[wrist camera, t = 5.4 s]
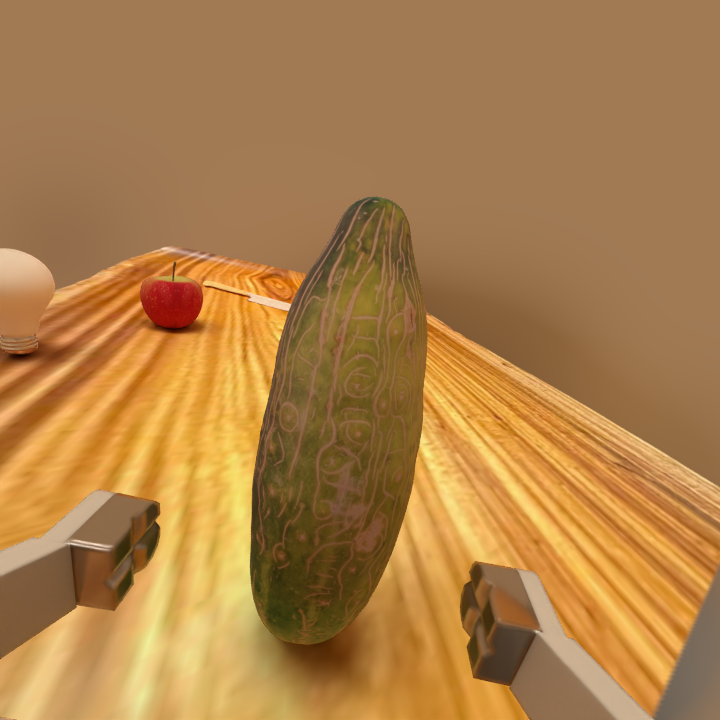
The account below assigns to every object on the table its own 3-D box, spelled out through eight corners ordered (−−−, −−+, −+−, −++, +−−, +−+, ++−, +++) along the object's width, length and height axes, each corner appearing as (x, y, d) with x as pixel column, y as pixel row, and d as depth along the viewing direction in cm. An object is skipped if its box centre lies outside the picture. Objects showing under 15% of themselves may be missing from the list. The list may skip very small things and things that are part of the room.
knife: (323, 319, 75) (334, 313, 79) (194, 281, 84) (210, 278, 89) (323, 325, 75) (333, 319, 80) (195, 287, 85) (210, 283, 89)
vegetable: (387, 623, 19) (506, 222, 13) (314, 754, 14) (451, 187, 7) (299, 559, 22) (358, 199, 15) (209, 649, 17) (241, 162, 10)
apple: (143, 335, 51) (142, 261, 48) (138, 317, 57) (137, 251, 54) (207, 334, 55) (209, 267, 52) (195, 318, 62) (197, 258, 59)
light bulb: (63, 343, 44) (54, 248, 40) (58, 365, 39) (48, 258, 35) (-16, 345, 40) (-33, 239, 36) (-32, 368, 35) (-54, 249, 31)
